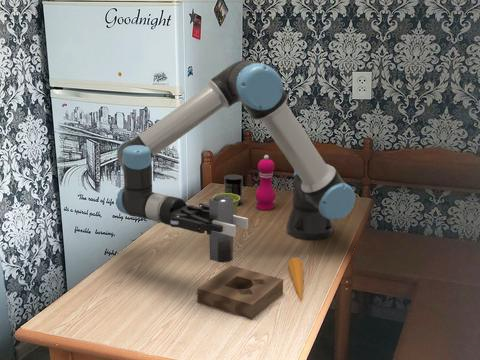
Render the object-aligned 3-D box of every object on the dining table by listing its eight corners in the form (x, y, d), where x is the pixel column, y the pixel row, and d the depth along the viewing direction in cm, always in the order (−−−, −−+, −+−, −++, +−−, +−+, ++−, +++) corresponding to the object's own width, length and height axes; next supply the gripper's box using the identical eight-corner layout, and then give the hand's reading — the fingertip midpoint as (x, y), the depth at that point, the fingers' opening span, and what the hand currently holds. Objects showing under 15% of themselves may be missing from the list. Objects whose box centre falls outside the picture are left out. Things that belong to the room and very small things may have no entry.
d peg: (209, 259, 152) (209, 199, 147) (220, 252, 156) (220, 194, 151) (226, 264, 149) (226, 203, 144) (236, 257, 153) (237, 197, 148)
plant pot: (234, 215, 212) (234, 191, 209) (243, 224, 204) (244, 200, 201) (209, 218, 209) (209, 194, 206) (217, 227, 200) (217, 203, 198)
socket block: (197, 302, 151) (197, 288, 150) (230, 278, 164) (231, 265, 163) (252, 319, 143) (252, 304, 142) (282, 293, 156) (283, 279, 155)
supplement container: (239, 207, 220) (239, 180, 217) (222, 205, 222) (222, 178, 219) (244, 201, 226) (244, 175, 223) (227, 200, 228) (227, 173, 225)
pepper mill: (273, 211, 216) (274, 158, 210) (253, 210, 217) (254, 156, 211) (276, 205, 223) (277, 153, 217) (257, 203, 224) (258, 152, 218)
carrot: (290, 270, 171) (284, 258, 169) (305, 265, 170) (299, 253, 169) (296, 312, 152) (289, 298, 151) (312, 306, 152) (306, 292, 150)
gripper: (187, 213, 167) (259, 230, 155) (145, 233, 152) (221, 254, 141) (187, 187, 165) (260, 202, 153) (143, 206, 150) (221, 224, 138)
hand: (241, 227), depth 147 cm, fingers closed on d peg, 5 cm apart
